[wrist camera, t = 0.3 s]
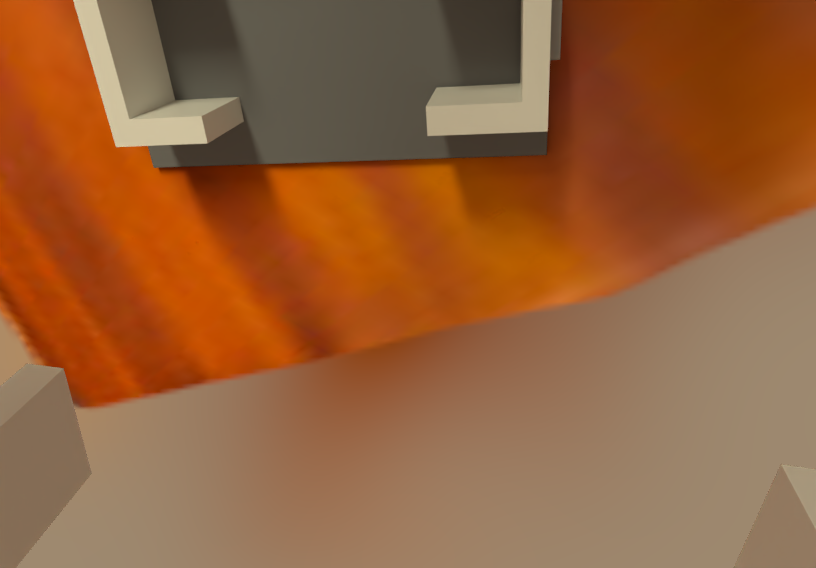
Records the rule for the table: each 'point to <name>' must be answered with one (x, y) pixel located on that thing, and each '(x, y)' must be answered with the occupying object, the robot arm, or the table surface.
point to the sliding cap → (506, 85)
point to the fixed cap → (145, 80)
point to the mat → (338, 76)
